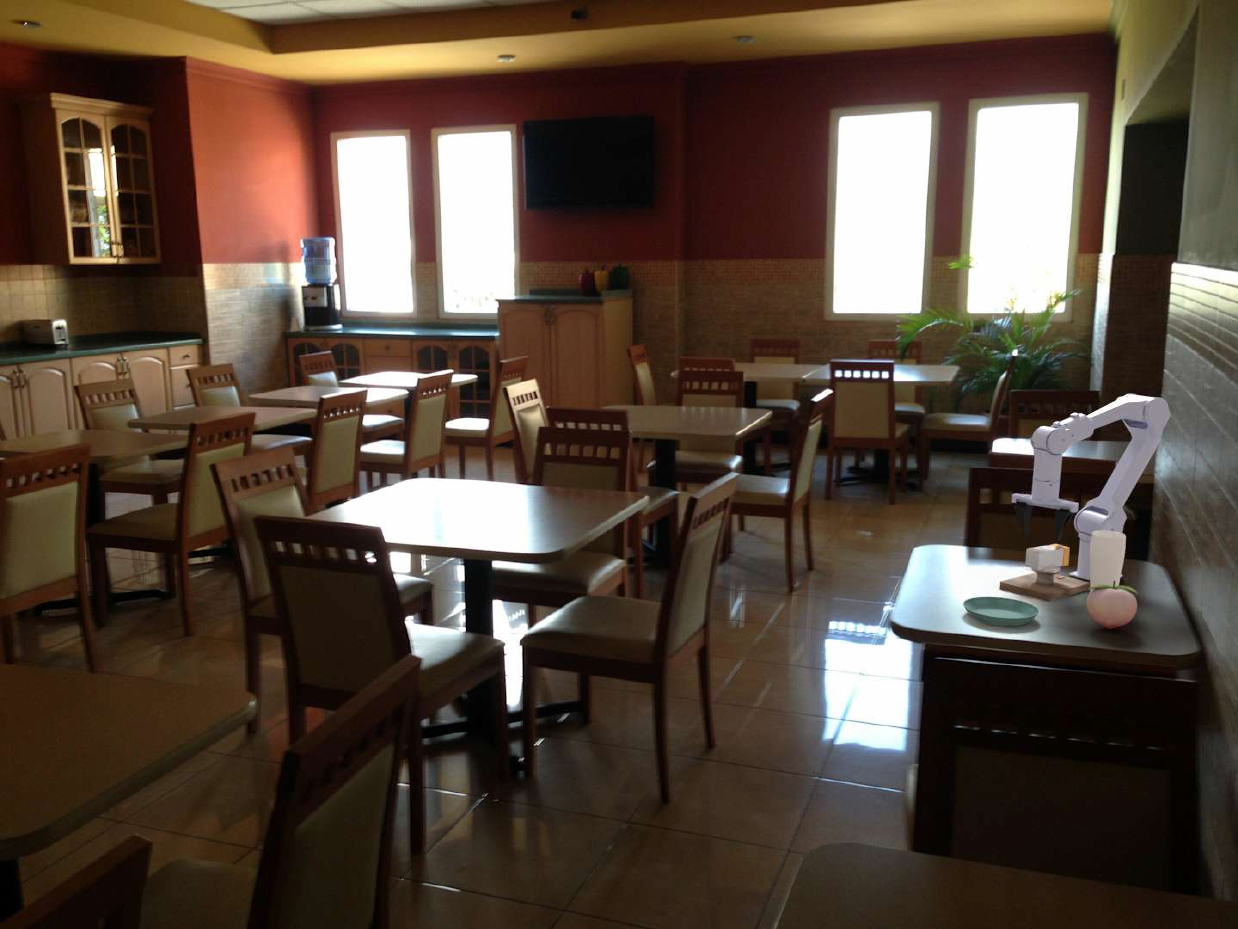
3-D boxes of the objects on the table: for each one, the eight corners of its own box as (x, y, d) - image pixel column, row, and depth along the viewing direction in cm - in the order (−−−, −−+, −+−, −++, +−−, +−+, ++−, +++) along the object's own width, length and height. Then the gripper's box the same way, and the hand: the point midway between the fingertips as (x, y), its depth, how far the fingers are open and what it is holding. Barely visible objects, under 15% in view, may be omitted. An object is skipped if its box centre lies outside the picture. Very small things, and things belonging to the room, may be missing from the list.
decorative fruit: (1095, 636, 202) (1099, 586, 200) (1078, 622, 210) (1082, 575, 208) (1144, 637, 201) (1149, 587, 199) (1126, 623, 209) (1130, 575, 208)
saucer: (1041, 613, 216) (1041, 601, 216) (1035, 635, 203) (1036, 622, 202) (967, 604, 222) (968, 592, 222) (957, 624, 209) (958, 611, 209)
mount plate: (1041, 576, 242) (1042, 560, 241) (1089, 589, 232) (1090, 572, 232) (999, 588, 233) (1000, 570, 233) (1047, 601, 223) (1048, 583, 223)
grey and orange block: (1020, 569, 233) (1022, 547, 232) (1050, 564, 237) (1052, 542, 236) (1041, 576, 227) (1043, 553, 227) (1071, 571, 231) (1073, 548, 231)
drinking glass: (1080, 601, 224) (1086, 533, 221) (1092, 594, 229) (1098, 528, 226) (1113, 608, 219) (1119, 539, 216) (1124, 601, 224) (1131, 534, 221)
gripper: (1007, 477, 236) (1003, 534, 239) (1071, 486, 226) (1065, 546, 229) (1021, 473, 241) (1016, 530, 244) (1084, 482, 231) (1078, 541, 233)
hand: (1041, 537), depth 236 cm, fingers open, 7 cm apart
